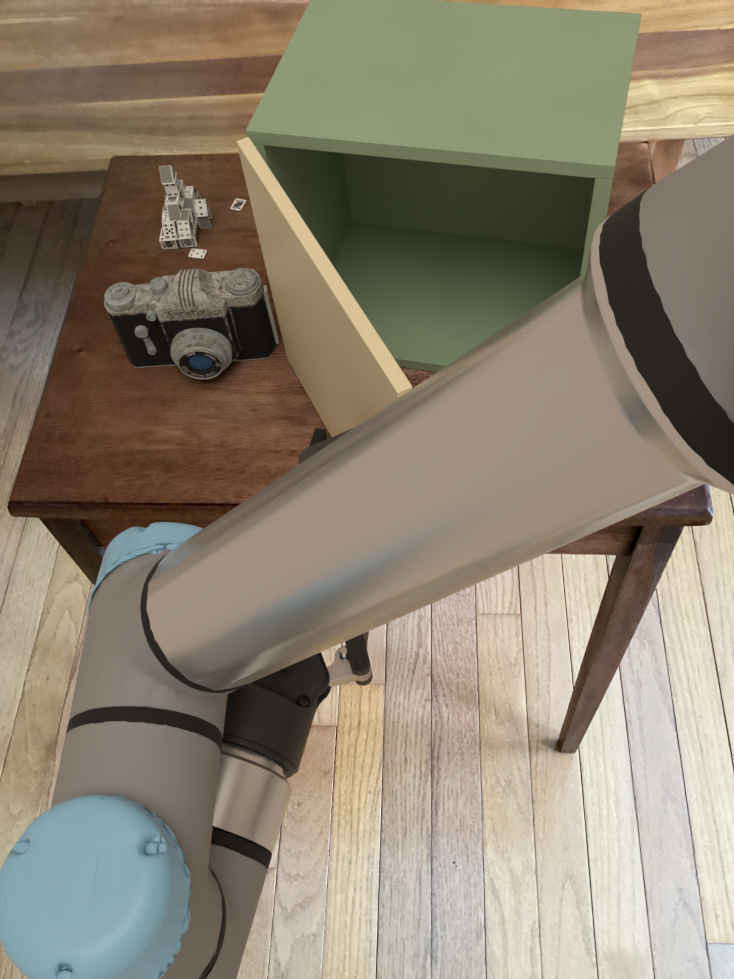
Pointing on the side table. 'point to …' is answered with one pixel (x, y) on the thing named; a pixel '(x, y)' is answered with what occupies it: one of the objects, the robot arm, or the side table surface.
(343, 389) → the cupboard door
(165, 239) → the house of cards
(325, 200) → the cupboard
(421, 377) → the side table surface
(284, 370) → the side table surface
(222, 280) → the camera
